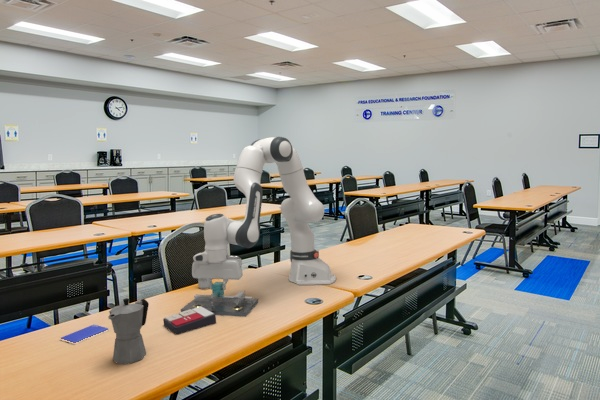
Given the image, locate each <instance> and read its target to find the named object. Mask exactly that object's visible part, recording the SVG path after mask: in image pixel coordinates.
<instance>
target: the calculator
mask: <svg viewBox="0 0 600 400" xmlns="http://www.w3.org/2000/svg"><path fill="white" fill-rule="evenodd" d="M216 316H217V315H215V314H214V313H212V312H210V311H209V310H207V309H205V308H203V307H201V306H200V307H197V308H194V309H192V310H191V309H189V310H186V311H183V312H181V311H180V312H178V313H174V314H171V315H168V316H165V317H164V318H163V327H165V328H166V329H167V330H169V331H170V332H172V333H173V334H175V335H182V334H185V333H188V332H191V331H194V330H197V329H200V328H203V327H208V326H212V325H214V324H217V317H216Z"/></svg>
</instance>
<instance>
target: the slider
mask: <svg viewBox="0 0 600 400" xmlns="http://www.w3.org/2000/svg"><path fill="white" fill-rule="evenodd" d="M223 284H224V282H223V281H215V282H214V283H213V284H212V290H211V291H212V293H211V294H209V295H210V296H209V301H211V306H213V301H214V300H216V299H217V298H218V297H221V296H225V290H221V285H223Z"/></svg>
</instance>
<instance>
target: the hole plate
mask: <svg viewBox="0 0 600 400" xmlns="http://www.w3.org/2000/svg"><path fill="white" fill-rule="evenodd" d="M245 293H246V291H243V290H242V291H241V290H239V291H238V292H237V293H236V294H235V295H222V296H221V297H218V298H217V299H216V300H214V301H213V306H211V301H209V296H210V295H211V294H195V295H194V296H193V298H194V299H193V300H191V301H190V302H189V303H187V304H185V305H184V306H183V307H182V308H180V312H183V311H186V310H189V309H191V310H192V309H194V308H197V307H200V306H201V307H203V308H205V309H207V310H209V311H210V312H212V313H214V314H215V316H223V317H224V316H227V317H242V318H243V317H244V318H245V317H247V316H248V315H249V314H250V313H251V312H252V310H253V309H255V307H256V306H257V305H258V303H259V301H260V300H259V298H254V296H246V294H245Z"/></svg>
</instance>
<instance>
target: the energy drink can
mask: <svg viewBox="0 0 600 400" xmlns="http://www.w3.org/2000/svg"><path fill="white" fill-rule="evenodd" d="M197 281H198V286H197V287H199V289H200V290H208V289H209V290H210V285H209V284H208V282H207V279H200V278H197ZM211 281H212V282H213V279H212V280H211Z"/></svg>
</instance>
